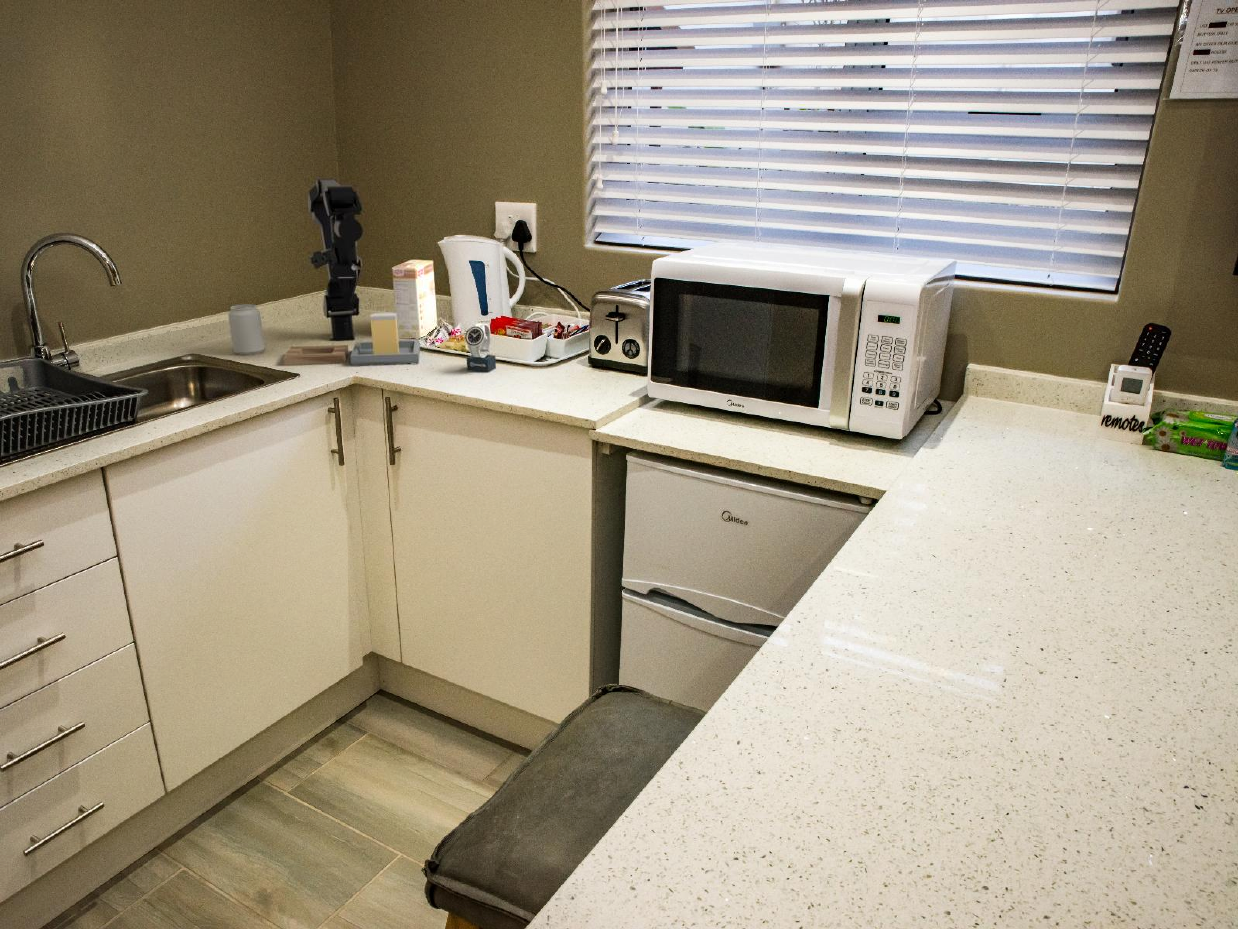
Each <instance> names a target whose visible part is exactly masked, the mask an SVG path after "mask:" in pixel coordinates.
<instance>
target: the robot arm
mask: <svg viewBox="0 0 1238 929" xmlns="http://www.w3.org/2000/svg"><path fill="white" fill-rule="evenodd" d="M307 205H308V212H309V213H311V217H312V221H313V222H314V223H315V225H316V226H317V227H318V228H319V229H320V233H321V238H322V246H323V250H320V249H317V250H316V251H313V252H312V255H310V256H309V259H310V262H311V264H312V265H313V267H314V270H318V269H321V267H323V266H326V270H327V275H328V284H327V285H326V289H325V291H324V295H323V302H322V303H323V305H322V309H323V311H322V312H323V316H324V317H325V318H326V319H330V327H331V336H330V337H329V341H345V340H346V341H347V340H348V341H351V340H352V341H353V340H355V338H356V337H357V333H356V332H355V331H354V322H353V321H354V320H353V316H355V317H356V316H357V317H358V316H359V315H360V298H359V297H358V294H357V293H355V292H356V288H357V286H358V281H359V279H360V275H361V273H362V267H363V263H362V262H363V261H362V258H361V257H360V256H359V255H358V249H357V248H358V241H359V240H360V239H361V238H362V235H363V232H364V231H363V229H364V228H363V226H362V224H361V222H359V220H357V219H356V218H355V217H356V216H361V215H362V213H361V212H362V210H363V207H362V204H361V200H360V197H359V194H358V193H357V190H355V189H354V187H353V186H352V185H341V184H340V183H339V182H338V180H337V179H336V178H334V177H326V178H325V177H320V178H318V179H317V178H316V181H315V185H314V186H312V188H311V189H309V191H308V196H307Z"/></svg>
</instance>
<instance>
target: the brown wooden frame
mask: <svg viewBox="0 0 1238 929" xmlns="http://www.w3.org/2000/svg"><path fill="white" fill-rule="evenodd" d="M349 352H350V351H349V344H333V345H332V344H331V345H305V346H302V345H301V346H299V345H298V346H290V348H288V350H287V352H286V353H285V355H284V356H283V363H284V367H287V366H288V367H289V366H291V367H292V366H311V365H312V364H314V365H315V364H316V365H317V364H319V365H340V364H341V363H342V364H341V365H343V364H345V363H346V359H347V358H348V355H349ZM314 365H313V366H314ZM316 365H315V366H316Z"/></svg>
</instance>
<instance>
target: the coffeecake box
mask: <svg viewBox="0 0 1238 929" xmlns="http://www.w3.org/2000/svg"><path fill="white" fill-rule="evenodd" d="M391 274H392V285H393V287H392V288H393V295H394V296H393V297H394V307H395V308H394V309H395V313H396V318H397V331H398V340H412V339H411V338H419V337H423V336H425V337H427V336H428V335H429V334H430V333H429V332H431V331H432V330H433V329H435V327H436V326H437V327H438V316H437V301H436V299H437V298H436V285H435V271H434V260H426V259H425V260H423V259H410V260H407V261H404V262H403V263H400V264H398V265H395V266H393V267H391ZM428 333H429V334H428ZM431 333H432V332H431ZM427 334H428V335H427ZM407 338H408V339H407ZM409 338H410V339H409ZM423 338H424V337H423Z"/></svg>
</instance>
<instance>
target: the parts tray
mask: <svg viewBox="0 0 1238 929" xmlns="http://www.w3.org/2000/svg"><path fill="white" fill-rule="evenodd" d="M398 344H399V353H396V354H374V353H373V341H372V340H371V341H369V340H368V341H356V342H355V344H354V346H353V349H352V351H351V354H350V364H351V367H365V366H366V367H369V366H370V365H373V366H392V365H393V366H395V365H396V364H400V365H408V364H407V363H419V362H420V355H419V354H421V344H420V339H398ZM390 364H391V365H390Z"/></svg>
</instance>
